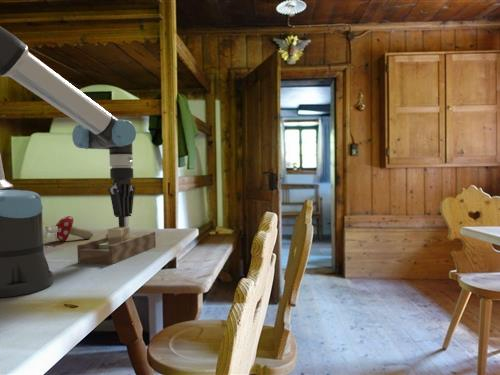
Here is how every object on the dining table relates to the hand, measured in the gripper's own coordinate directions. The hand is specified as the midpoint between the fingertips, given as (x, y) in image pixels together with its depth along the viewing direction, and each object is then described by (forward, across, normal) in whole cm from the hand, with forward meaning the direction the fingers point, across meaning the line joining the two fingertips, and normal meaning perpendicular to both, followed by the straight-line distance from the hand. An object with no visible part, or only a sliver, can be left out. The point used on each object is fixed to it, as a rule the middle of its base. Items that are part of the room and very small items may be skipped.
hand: (124, 235), depth 128 cm
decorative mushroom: (+6, +20, +36) cm, 42 cm away
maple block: (+2, -3, 0) cm, 4 cm away
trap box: (+6, -3, 0) cm, 6 cm away
